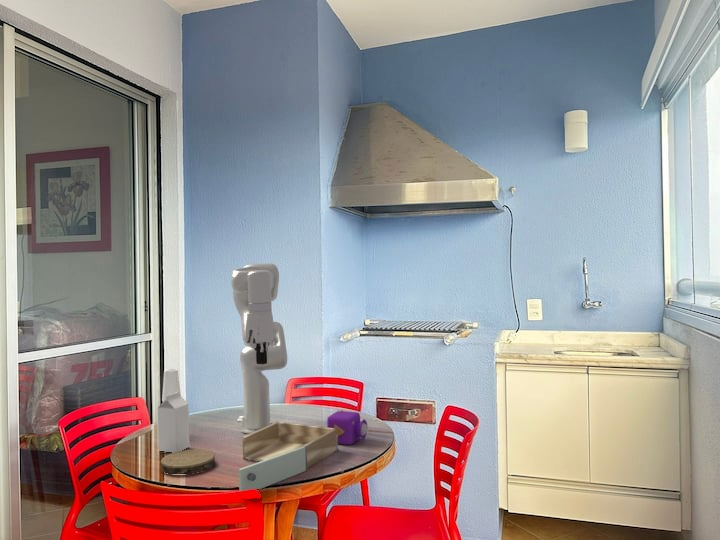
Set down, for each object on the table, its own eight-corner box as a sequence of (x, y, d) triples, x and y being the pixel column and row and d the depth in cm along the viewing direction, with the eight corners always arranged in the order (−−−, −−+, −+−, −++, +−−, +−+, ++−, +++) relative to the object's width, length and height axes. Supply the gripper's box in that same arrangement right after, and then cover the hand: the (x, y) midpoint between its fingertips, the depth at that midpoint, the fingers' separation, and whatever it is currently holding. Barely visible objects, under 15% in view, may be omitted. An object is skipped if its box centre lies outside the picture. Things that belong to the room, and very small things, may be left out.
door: (244, 497, 145) (244, 471, 145) (239, 495, 147) (238, 469, 147) (311, 470, 163) (310, 447, 163) (305, 469, 165) (304, 445, 165)
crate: (243, 459, 176) (242, 437, 176) (277, 441, 193) (277, 421, 193) (307, 469, 165) (306, 446, 165) (338, 450, 182) (337, 428, 182)
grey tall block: (167, 438, 200) (165, 372, 200) (160, 434, 205) (158, 370, 205) (185, 434, 205) (183, 369, 205) (177, 430, 210) (175, 367, 210)
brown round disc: (163, 480, 160) (163, 470, 160) (159, 463, 175) (158, 454, 175) (219, 470, 167) (218, 460, 167) (210, 455, 182) (210, 446, 182)
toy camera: (365, 447, 184) (364, 417, 184) (325, 445, 187) (324, 416, 187) (371, 437, 195) (370, 409, 195) (333, 436, 198) (332, 408, 198)
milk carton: (189, 447, 189) (188, 392, 189) (176, 454, 183) (174, 396, 183) (172, 445, 192) (170, 391, 192) (158, 452, 185) (157, 395, 185)
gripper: (264, 306, 191) (266, 359, 191) (236, 309, 177) (238, 367, 178) (282, 306, 187) (284, 360, 187) (255, 310, 174) (257, 368, 174)
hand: (261, 363), depth 182 cm, fingers closed
